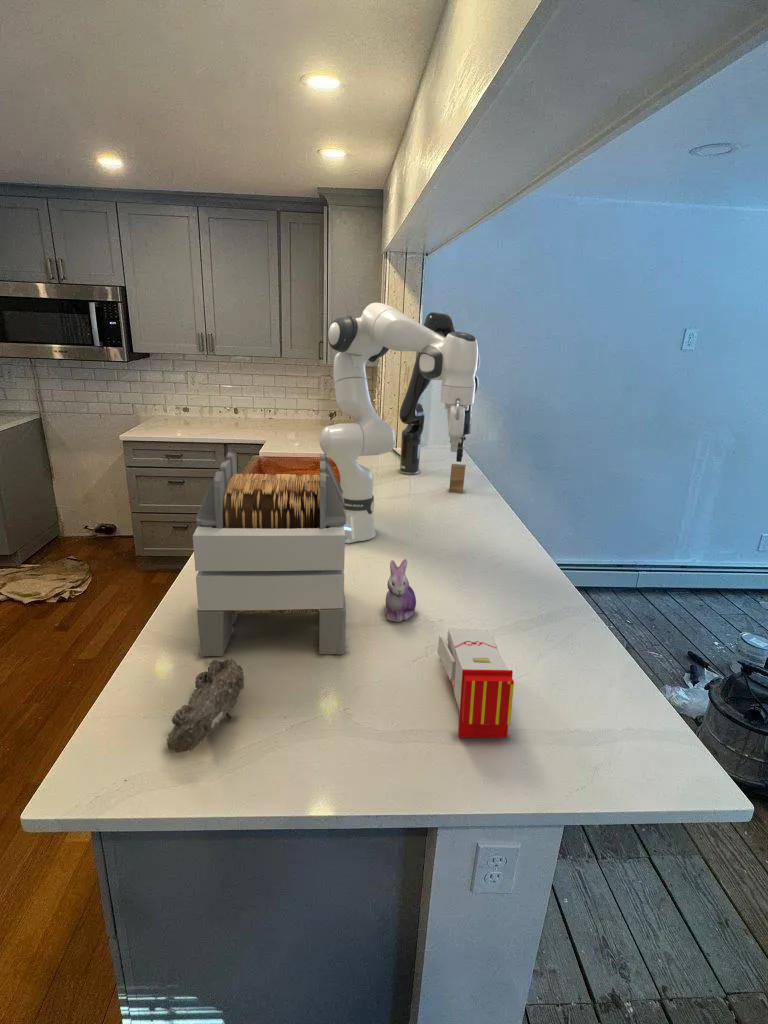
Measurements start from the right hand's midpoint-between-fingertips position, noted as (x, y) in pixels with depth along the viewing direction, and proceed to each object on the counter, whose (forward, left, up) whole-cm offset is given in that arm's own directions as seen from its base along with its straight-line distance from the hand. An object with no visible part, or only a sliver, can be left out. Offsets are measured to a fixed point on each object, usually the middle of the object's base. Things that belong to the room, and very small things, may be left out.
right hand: (459, 459), depth 245 cm
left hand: (+77, -42, +25) cm, 91 cm away
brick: (0, 0, -15) cm, 15 cm away
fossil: (+121, -110, -15) cm, 164 cm away
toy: (+127, -59, -15) cm, 141 cm away
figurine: (+94, -62, -15) cm, 113 cm away
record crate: (+88, -92, -15) cm, 128 cm away
